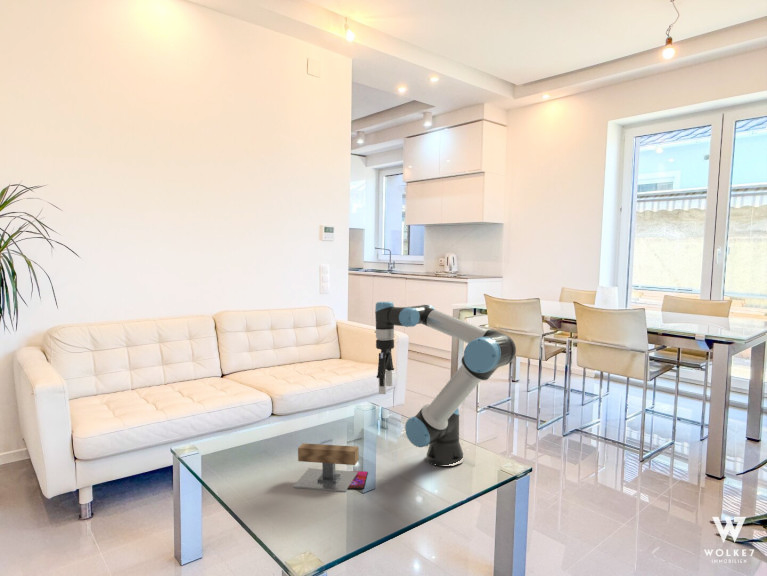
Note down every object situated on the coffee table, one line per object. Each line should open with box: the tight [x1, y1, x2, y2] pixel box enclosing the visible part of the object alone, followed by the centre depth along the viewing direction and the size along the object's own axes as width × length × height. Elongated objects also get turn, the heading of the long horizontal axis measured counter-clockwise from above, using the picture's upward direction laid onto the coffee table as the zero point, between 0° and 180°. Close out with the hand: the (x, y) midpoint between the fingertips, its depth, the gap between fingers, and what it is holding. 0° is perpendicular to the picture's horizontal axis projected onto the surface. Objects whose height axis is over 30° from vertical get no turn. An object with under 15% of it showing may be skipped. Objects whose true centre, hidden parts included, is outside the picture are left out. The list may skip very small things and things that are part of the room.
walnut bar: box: [297, 443, 360, 466], centre depth 180 cm, size 22×5×5 cm, turn 78°
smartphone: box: [347, 470, 369, 491], centre depth 180 cm, size 8×1×15 cm
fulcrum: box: [292, 463, 358, 493], centre depth 180 cm, size 20×16×8 cm
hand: (385, 389), depth 200 cm, fingers open, 13 cm apart
